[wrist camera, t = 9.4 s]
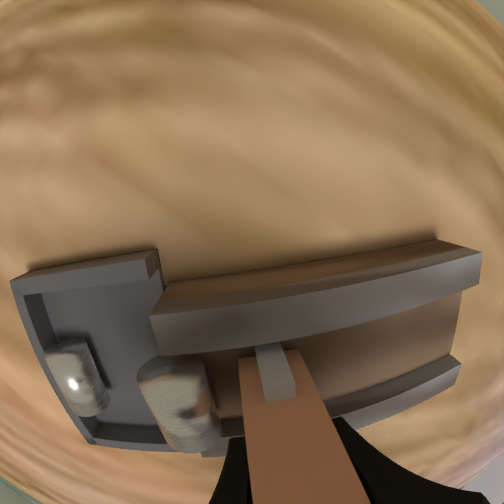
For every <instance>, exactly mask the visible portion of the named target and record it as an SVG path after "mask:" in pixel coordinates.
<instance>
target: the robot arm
mask: <svg viewBox="0 0 504 504" xmlns="http://www.w3.org/2000/svg"><path fill="white" fill-rule="evenodd" d="M331 420H332V422H333V424H334V426H335V428H336V430H337V433H338V435H339V437H340V439H341V441H342V443H343V445H344V447H345V450H346V452H347V454H348V456H349V458H350V460H351V462H352V464H353V467H354V469H355V471H356V473H357V475H358V477H359V479H360V482H361V484H362V486H363V488H364V490H365V492H366V494H367V496H368V499H369V501H370V503H371V504H490V503H489V501H488V500H487V498H486V497H485V496H484V495H483V494H482V493H480V492H471V491H466V490H460V489H456V488H452V487H448V486H444V485H441V484H439V483H436V482H433V481H430V480H427V479H425V478H423V477H421V476H418V475H416V474H414V473H412V472H410V471H408V470H407V469H405V468H403V467H401V466H400V465H398V464H397V463H395V462H393V461H392V460H390V459H389V458H388V457H386V456H385V455H383V454H382V453H381V452H379V451H378V450H377V449H376V448H374V447H373V446H372V445H371V444H370V443H368V442H367V441H366V440H365V439H364V438H363V437H362V436H361V435H359V434H358V433H357V432H356V431H355V430H354V429H353V428H352V427H351V426H350V425H349V424H348V423H347V422H346V420H345V419H344V418H343V417H341V416H339V417H336V418H332V419H331ZM209 504H253V498H252V491H251V482H250V474H249V466H248V457H247V448H246V439H245V436H241V437H232V438H230V439H229V442H228V449H227V454H226V458H225V462H224V465H223V469H222V472H221V475H220V478H219V481H218V483H217V486H216V488H215V491H214V493H213V495H212V498H211V500H210V502H209ZM503 504H504V503H503Z"/></svg>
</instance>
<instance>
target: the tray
mask: <svg viewBox="0 0 504 504" xmlns="http://www.w3.org/2000/svg"><path fill="white" fill-rule="evenodd" d="M10 285H11V288H12V292H13V295H14V298H15V301H16V305H17V308H18V311H19V314H20V316H21V319H22V322H23V325H24V327H25V330H26V332H27V335H28V337H29V340H30V342H31V345H32V347H33V349H34V351H35V354H36V356H37V358H38V360H39V362H40V364H41V366H42V368H43V370H44V372H45V374H46V376H47V378H48V380H49V382H50V384H51V386H52V388H53V389H54V391H55V393H56V395H57V396H58V398H59V400H60V402H61V403H62V405H63V407H64V408H65V410H66V411H67V413H68V414H69V416H70V418H71V419H72V421H73V422H74V424H75V425H76V427H77V428H78V429H79V431H80V432H81V434H82V435H83V436H84V438H85V439H86V441H87V442H88V443H89V444H93V445H99V446H105V447H113V448H121V449H130V450H142V451H161V452H179V451H177V450H175V449H173V448H172V447H170V446H169V445H168V443H167V441H166V440H165V438H164V436H163V434H162V432H161V430H160V429H159V427H158V425H157V423H156V421H155V419H154V417H153V415H152V413H151V411H150V409H149V407H148V405H147V403H146V400H145V398H144V396H143V394H142V392H141V389H140V387H139V385H138V383H137V379H136V375H137V372H138V370H139V369H140V367H141V366H142V365H143V364H144V363H146V362H147V361H149V360H150V359H152V358H154V357H157V356H159V355H161V354H160V351H159V348H158V345H157V341H156V338H155V335H154V332H153V328H152V325H151V321H150V318H149V315H150V313H151V311H152V310H153V308H154V307H155V305H156V303H157V302H158V300H159V298H160V297H161V295H162V294H163V292H164V290H165V289H166V288H165V283H164V279H163V274H162V269H161V265H160V260H159V255H158V249H152V250H146V251H140V252H134V253H128V254H122V255H116V256H110V257H104V258H98V259H92V260H86V261H81V262H75V263H69V264H64V265H58V266H53V267H47V268H42V269H36V270H31V271H29V272H27V273H25V274H23V275H20V276H18V277H16V278H14V279H12V280H10ZM68 337H81V338H84V339H85V340H86V343H87V345H88V348H89V350H90V353H91V355H92V358H93V360H94V362H95V365H96V367H97V369H98V372H99V374H100V376H101V378H102V380H103V383H104V385H105V387H106V389H107V391H108V393H109V395H110V403H109V405H108V407H107V408H106V409H105V410H104V411H102V412H101V413H99V414H97V415H94V416H90V417H82V416H78V415H76V414H75V413H74V412H73V411H72V409H71V407H70V406H69V404H68V402H67V401H66V399H65V397H64V395H63V394H62V392H61V390H60V388H59V386H58V384H57V383H56V381H55V379H54V377H53V375H52V373H51V371H50V369H49V366H48V364H47V362H46V360H45V358H44V352H45V350H46V349H47V348H48V347H49V346H50V345H51V344H53V343H54V342H56V341H59V340H61V339H64V338H68Z"/></svg>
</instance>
